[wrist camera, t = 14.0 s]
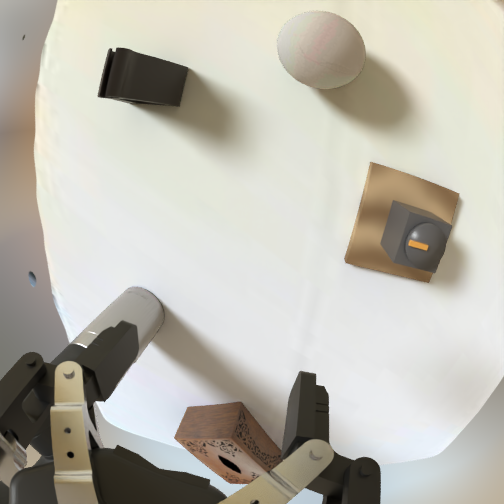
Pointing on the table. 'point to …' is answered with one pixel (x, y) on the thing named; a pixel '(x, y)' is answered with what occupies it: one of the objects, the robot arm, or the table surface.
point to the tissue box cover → (228, 441)
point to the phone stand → (141, 79)
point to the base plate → (377, 211)
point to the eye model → (321, 49)
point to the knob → (415, 237)
